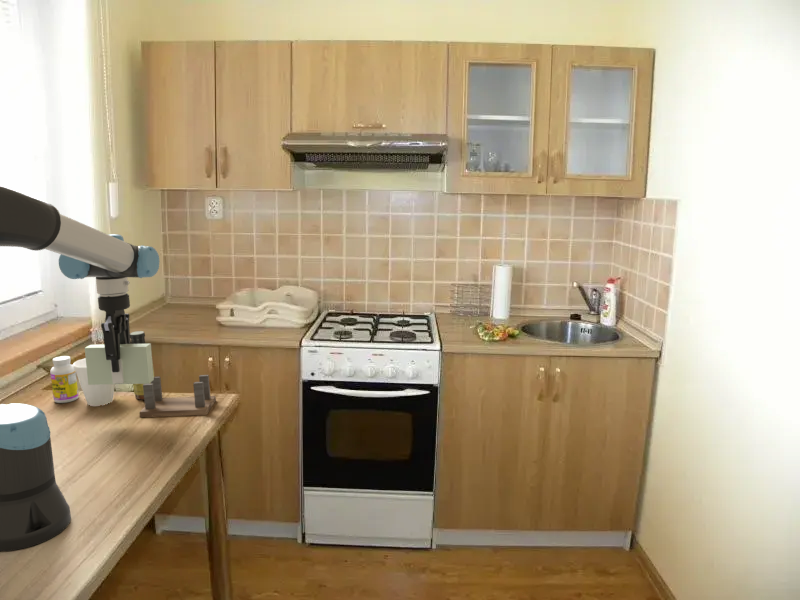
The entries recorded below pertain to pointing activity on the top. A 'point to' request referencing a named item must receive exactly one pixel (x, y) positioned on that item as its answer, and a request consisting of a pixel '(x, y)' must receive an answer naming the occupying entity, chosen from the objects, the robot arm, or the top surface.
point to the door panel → (133, 362)
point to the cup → (93, 386)
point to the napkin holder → (177, 400)
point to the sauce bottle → (139, 338)
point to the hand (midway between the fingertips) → (121, 380)
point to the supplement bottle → (63, 380)
